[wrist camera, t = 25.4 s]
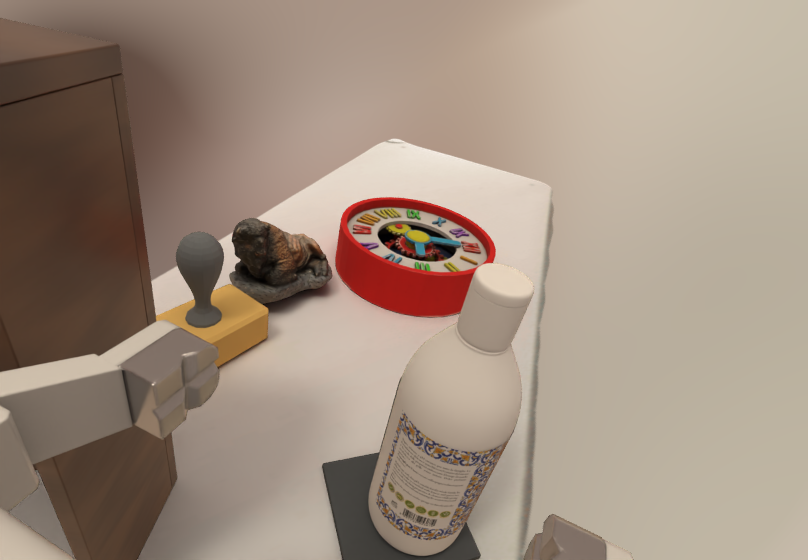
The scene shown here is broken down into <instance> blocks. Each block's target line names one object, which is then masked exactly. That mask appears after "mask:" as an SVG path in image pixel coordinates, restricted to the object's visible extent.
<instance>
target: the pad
mask: <svg viewBox="0 0 808 560" xmlns="http://www.w3.org/2000/svg"><path fill="white" fill-rule="evenodd" d="M378 456H379V453H374V454H369V455H364V456H359V457H354V458H349V459H344V460H338V461H333V462H328V463H323V465H322V468H323V472H324V477H325V481H326V486H327V490H328V495H329V499H330V504H331V508H332V513H333V517H334V522H335V527H336V531H337V536H338V540H339V545H340V549H341V554H342V558H343V560H475V559H478V558H480V556H481V555H480V552H479V550H478V548H477V546H476V543H475V541H474V539H473V537H472V534H471V532H470V530H469V528H468V526H467V523H466V522H465V524H464V526H463V528H462V530H461V531H460V533H459V535H458V537H457V538H456V539H455V541H454V542H453V543H452V544H451V545H450V546H449V547H447V548H446V549H444V550H443V551H441V552H439V553H436V554H433V555H428V556H416V555H410V554H407V553H404V552H402V551H400V550H398V549H396V548H394V547H393V546H391V545H390V544H389V543H388V542H387V541H385V540H384V538H383V537H382V536H381V535H380V534H379V532H378V531H377V529H376V528H375V526H374V524H373V521H372V519H371V516H370V512H369V504H368V499H369V491H370V486H371V483H372V479H373V476H374V472H375V471H374V470H375V469H376V468H375V466H376V463H377V459H378Z"/></svg>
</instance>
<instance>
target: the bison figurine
mask: <svg viewBox="0 0 808 560" xmlns="http://www.w3.org/2000/svg"><path fill="white" fill-rule="evenodd" d="M232 242H233V244H234V247H235V255H236V256H237V257H238V258H240V259H241V261H240V262H239V263H237V264H236V266H235V270H236V271H234V272H232V273H230V275H229V277H230V280H231V282H232V284H233V286H235V287H236V288H238V289H239V290H241V291H242V292H244V293H245V294H247V295H248V296H250V297H251V298H253V299H254V300H256V301H257V302H259V303H260V304H261V303H269V302H273V301H278V300H281V299H283V298H286V297H290V296H292V295H294V294H295V293H297V292H300V291H302V290H306V289H318V288H320V287H321V286H323V285H325V283H326V282H328V281H329V280H330V279H331V278H332V270H331V268H330V266H329V265H328V261H327V259H326V255H325V254H323V252H322V250H321V249H320V247H319V245H318V244H317V243H316V242H315V240H313V239H312V238H309V237H307V236H306V235H304V234H294V235H291V234H289V233H287V232H284V231H281V230H280V229H279V228H277V227H275V226H274V225H271V224H269V223H267V222H263V221H260V220H258V219H255V218H249V219H245V220H243V221H241V222H239V223H238V225H236V227H235V229H234V232H233V236H232Z"/></svg>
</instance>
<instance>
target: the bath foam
mask: <svg viewBox="0 0 808 560" xmlns="http://www.w3.org/2000/svg"><path fill="white" fill-rule="evenodd" d="M533 293H534V286H533V283H532V282H531V280H530V279H529V278H528V277H527V276H526V275H525V274H523V273H522V272H520V271H519V270H517V269H515V268H512V267H510V266H507V265H503V264H498V263H486V264H483V265H481V266H479V267H478V268H477V269H476V271H475V272H474V275H473V278H472V281H471V284H470V286H469V289H468V292H467V295H466V298H465V301H464V304H463V307H462V310H461V313H460V316H459V319H458V322H457V323H455V324H453V325H452V326H450V327H448V328H446V329H445V330H443V331H441V332H439V333H438V334H436V335H435V336H433V337H432V338H430V339H429V340H428V341H426V342H425V343H424V344H423V345H422V346H421V347H420V348H419V349H418V350H417V351H416V353H415V354H414V355H413V357H412V358H411V360H410V361H409V363H408V365H407V366H406V368H405V370H404V373H403V375H402V377H401V379H400V381H399V385H398V388H397V392H396V395H395V399H394V402H393V406H392V409H391V413H390V417H389V420H388V424H387V427H386V431H385V434H384V438H383V441H382V445H381V449H380V452H379V456H378V459H377V463H376V466H375V468H376V469H375V470H374V471H375V472H374V476H373V479H372V483H371V486H370V491H369V499H368V504H369V512H370V516H371V519H372V521H373V524H374V526H375V528H376V529H377V531H378V532H379V534H380V535H381V536H382V537H383V538H384V540H385V541H387V542H388V543H389V544H390V545H391V546H393V547H394V548H396V549H398V550H400V551H402V552H404V553H407V554H410V555H416V556H428V555H433V554H436V553H439V552H441V551H443V550H444V549H446V548H447V547H449V546H450V545H451V544H452V543H453V542H454V541H455V539H456V538H457V537H458V535H459V533H460V531H461V530H462V528H463V526H464V524H465V522H466V521H467V519H468V517H469V515H470V513H471V511H472V509H473V507H474V506H475V504H476V502H477V500H478V498H479V496H480V494H481V492H482V490H483V488H484V487H485V485H486V483H487V481H488V479H489V477H490V475H491V473H492V471H493V470H494V468H495V466H496V464H497V462H498V460H499V458H500V456H501V454H502V452H503V451H504V449H505V447H506V445H507V443H508V441H509V439H510V437H511V435H512V433H513V432H514V429H515V426H516V423H517V420H518V417H519V413H520V408H521V401H522V385H521V377H520V373H519V369H518V365H517V362H516V358H515V355H514V352H513V349H512V346H511V342H512V340H513V338H514V336H515V334H516V332H517V330H518V328H519V325H520V323H521V321H522V319H523V316H524V314H525V312H526V310H527V307H528V305H529V303H530V301H531V298H532V296H533Z"/></svg>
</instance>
